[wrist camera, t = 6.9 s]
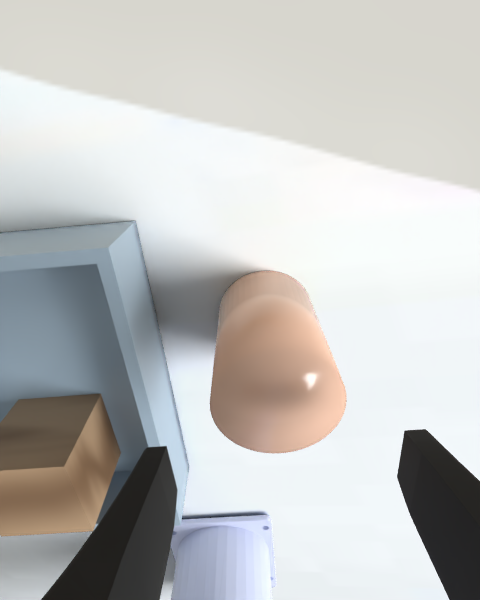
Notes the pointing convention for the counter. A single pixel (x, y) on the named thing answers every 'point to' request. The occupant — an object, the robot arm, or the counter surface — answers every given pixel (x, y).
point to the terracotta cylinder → (273, 367)
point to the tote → (89, 337)
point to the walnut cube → (55, 464)
